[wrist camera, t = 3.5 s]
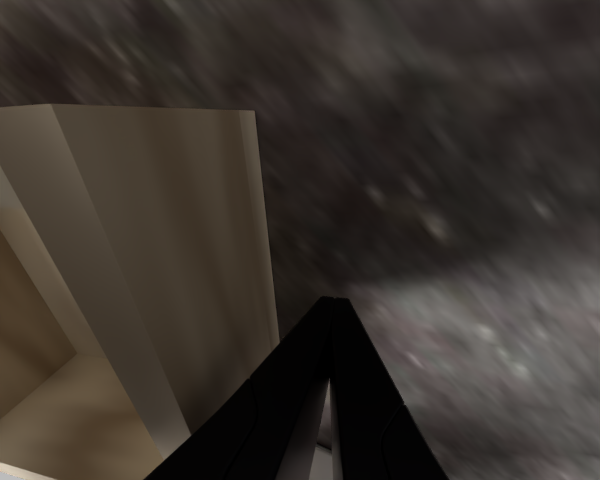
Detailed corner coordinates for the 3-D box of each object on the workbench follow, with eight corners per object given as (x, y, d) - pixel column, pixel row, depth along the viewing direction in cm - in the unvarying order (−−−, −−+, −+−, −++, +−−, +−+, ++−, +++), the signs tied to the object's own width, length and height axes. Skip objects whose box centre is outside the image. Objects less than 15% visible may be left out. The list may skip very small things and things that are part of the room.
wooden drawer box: (254, 110, 7) (50, 103, 2) (284, 381, 11) (238, 547, 7) (-42, 126, 9) (-442, 138, 4) (88, 348, 14) (-39, 459, 9)
